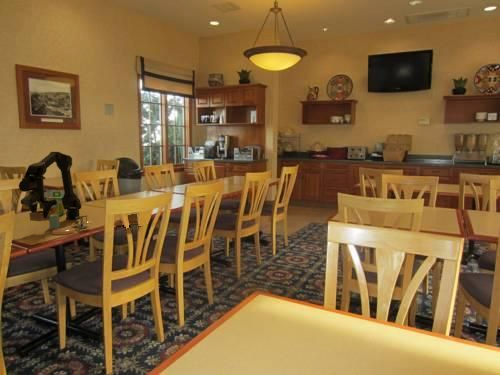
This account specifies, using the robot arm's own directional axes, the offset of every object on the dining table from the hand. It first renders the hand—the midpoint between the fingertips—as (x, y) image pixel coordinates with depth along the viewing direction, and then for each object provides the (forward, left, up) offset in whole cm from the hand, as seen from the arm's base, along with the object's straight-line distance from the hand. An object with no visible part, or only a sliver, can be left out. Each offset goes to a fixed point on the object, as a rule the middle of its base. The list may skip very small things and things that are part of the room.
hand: (40, 217), depth 199 cm
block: (-9, -3, -8) cm, 12 cm away
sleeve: (0, 0, -1) cm, 1 cm away
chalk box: (-28, -35, -8) cm, 45 cm away
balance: (-18, +9, -8) cm, 22 cm away
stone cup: (-37, +25, -8) cm, 45 cm away
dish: (-7, +10, -8) cm, 15 cm away
